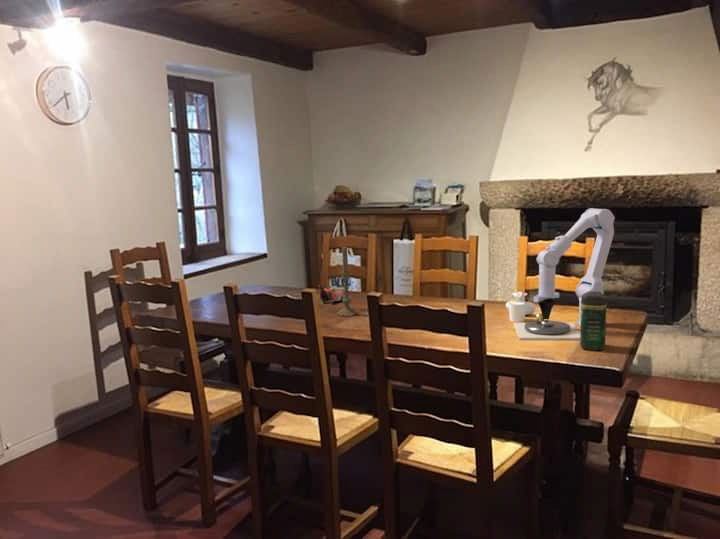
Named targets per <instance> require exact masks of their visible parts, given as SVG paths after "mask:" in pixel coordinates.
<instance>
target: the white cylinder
mask: <svg viewBox="0 0 720 539" xmlns="http://www.w3.org/2000/svg"><path fill="white" fill-rule="evenodd" d="M509 302H510V301H509ZM507 303H508V302H507ZM508 304H509V312H508V315H509V320H510V322H512V323H524V322H525V321H526V320H525V319H526V315H525V311H526V303H524V302H510V303H508Z"/></svg>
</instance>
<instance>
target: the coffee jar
mask: <svg viewBox="0 0 720 539" xmlns="http://www.w3.org/2000/svg"><path fill="white" fill-rule="evenodd" d="M606 330H607V296H606V295H605V294H602V293H601V292H593V291H588V292H587V293H585V294H583V295H582V297H581V326H580V340H579V344H580V348H582V349H584V350H589V351H600V350H601V351H602V350H604V349H605V347H606V335H607V333H606Z"/></svg>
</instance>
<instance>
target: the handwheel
mask: <svg viewBox="0 0 720 539" xmlns="http://www.w3.org/2000/svg"><path fill="white" fill-rule="evenodd" d="M535 318H536V319H535V320H534V321H533V320H532V321H529V322H525V323H526V324H525V330H527V331H529V332H533V333H539V334H561V333H566V332H569V331H570V325H569V324H567V323H568V322H563V321H558V320H557V321H556V320H550V319H543V315H542V312H538V313H536V314H535Z"/></svg>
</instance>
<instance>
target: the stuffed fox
mask: <svg viewBox="0 0 720 539" xmlns="http://www.w3.org/2000/svg"><path fill="white" fill-rule="evenodd" d="M318 290H319V294H320V295H319V298H320V300H321V301H322V302H323V303H324V302H325V301H326V302H328V301H329V302H328V303H330V302H331V301H334V300H341V299H342V300H343V299H344V298H345V293H344V292H345V291H344V290H345V289H344V288H343V290H340V289H339V290H338V289H337V290H335V291H333V290H331V289H329V288H325V287H323V286H321V285H318ZM342 300H341V301H342Z"/></svg>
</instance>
